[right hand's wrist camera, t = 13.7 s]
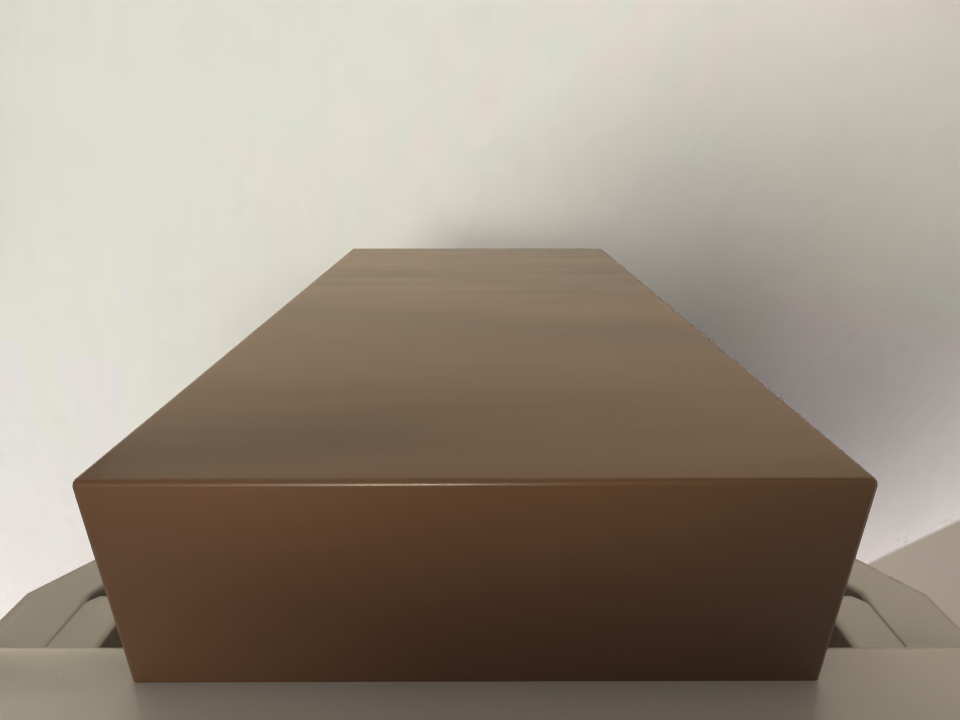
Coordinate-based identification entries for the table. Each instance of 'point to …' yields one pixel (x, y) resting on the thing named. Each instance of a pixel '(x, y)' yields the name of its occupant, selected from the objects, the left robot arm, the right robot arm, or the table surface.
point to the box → (475, 491)
